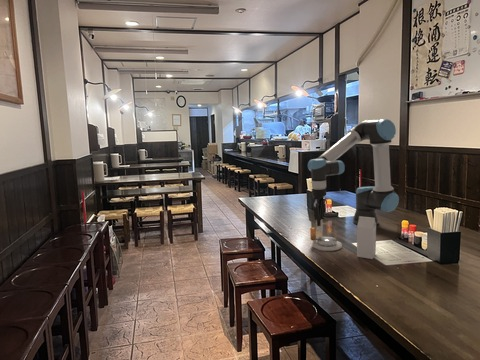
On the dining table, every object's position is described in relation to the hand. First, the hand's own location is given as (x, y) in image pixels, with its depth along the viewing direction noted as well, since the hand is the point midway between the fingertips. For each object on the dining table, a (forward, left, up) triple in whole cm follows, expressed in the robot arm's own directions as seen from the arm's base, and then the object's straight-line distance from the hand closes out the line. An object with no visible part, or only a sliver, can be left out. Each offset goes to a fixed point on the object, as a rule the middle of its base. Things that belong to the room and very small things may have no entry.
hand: (319, 231), depth 187 cm
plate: (-5, +5, -6) cm, 9 cm away
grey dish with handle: (-3, +6, -5) cm, 8 cm away
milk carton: (-25, +13, -6) cm, 29 cm away
